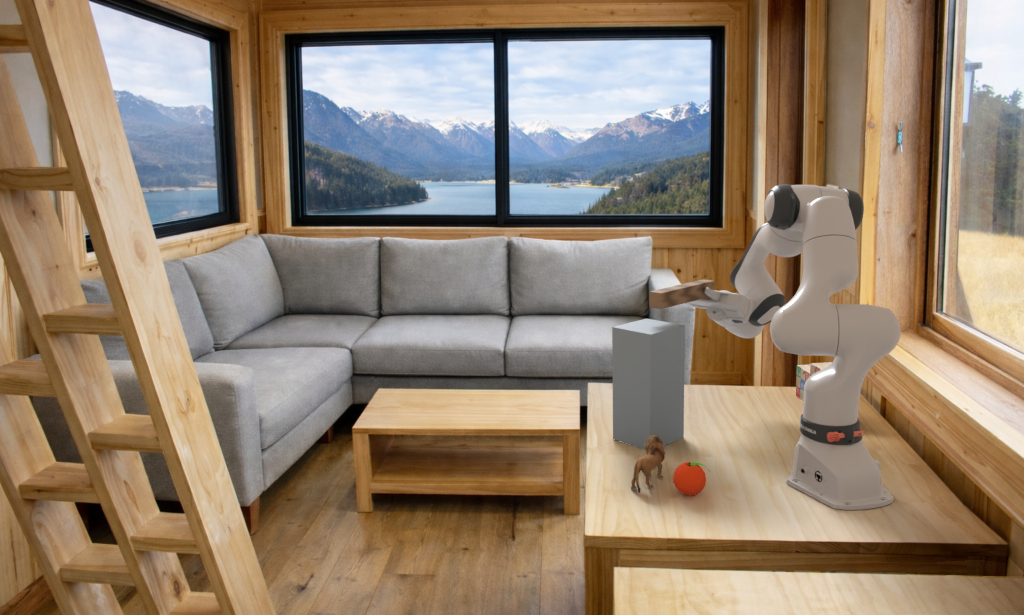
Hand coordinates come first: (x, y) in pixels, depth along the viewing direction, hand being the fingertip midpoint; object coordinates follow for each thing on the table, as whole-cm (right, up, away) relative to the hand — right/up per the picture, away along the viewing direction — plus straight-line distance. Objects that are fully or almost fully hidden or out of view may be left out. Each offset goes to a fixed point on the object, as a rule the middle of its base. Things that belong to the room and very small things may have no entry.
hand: (696, 288), depth 218 cm
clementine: (-9, -45, -38) cm, 60 cm away
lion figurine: (-18, -43, -31) cm, 56 cm away
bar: (-4, -3, -3) cm, 6 cm away
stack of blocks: (+38, -32, +15) cm, 52 cm away
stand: (-13, -38, -6) cm, 41 cm away
